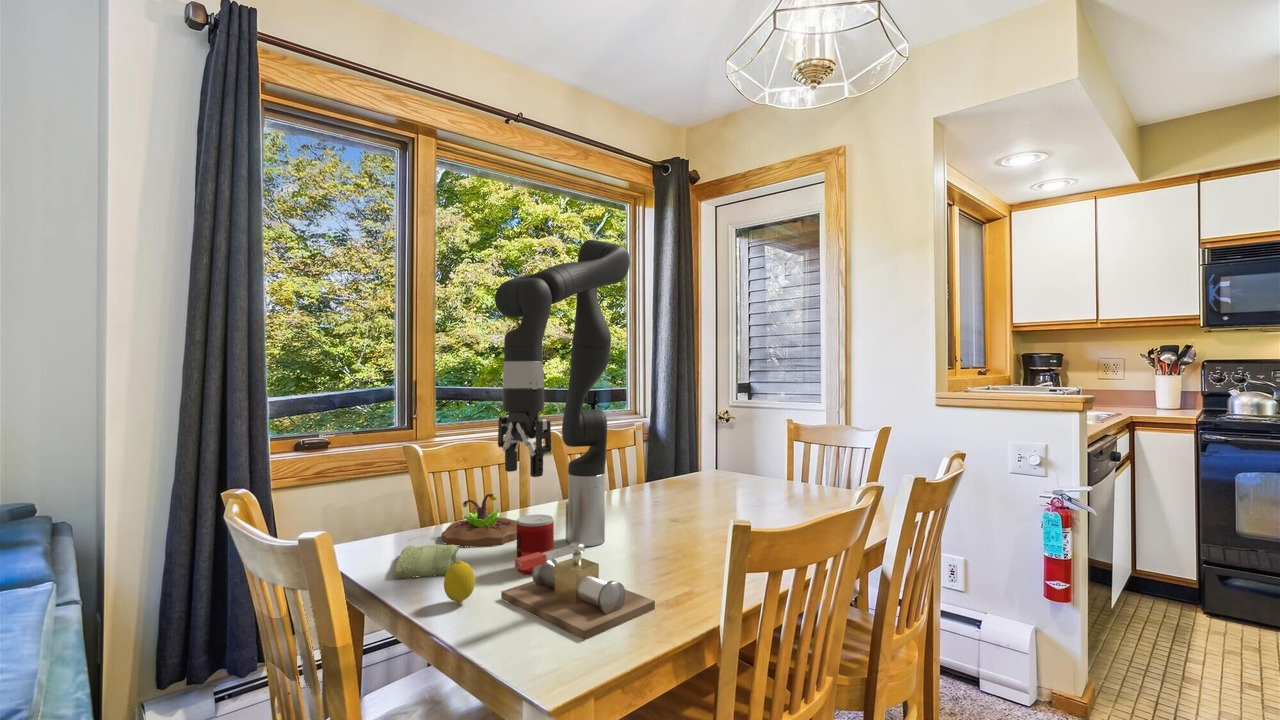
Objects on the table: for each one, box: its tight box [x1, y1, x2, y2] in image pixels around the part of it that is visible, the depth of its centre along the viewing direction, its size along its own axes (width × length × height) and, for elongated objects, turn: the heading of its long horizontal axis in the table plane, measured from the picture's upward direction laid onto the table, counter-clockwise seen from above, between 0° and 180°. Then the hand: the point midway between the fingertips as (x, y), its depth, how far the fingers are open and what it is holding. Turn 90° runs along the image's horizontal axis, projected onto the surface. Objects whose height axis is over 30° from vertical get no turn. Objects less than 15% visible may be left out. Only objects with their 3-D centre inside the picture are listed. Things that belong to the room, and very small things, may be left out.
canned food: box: [516, 514, 555, 575], centre depth 129 cm, size 8×8×11 cm
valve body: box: [531, 553, 626, 614], centre depth 110 cm, size 20×6×9 cm, turn 46°
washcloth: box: [393, 544, 460, 579], centre depth 132 cm, size 13×18×3 cm
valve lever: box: [514, 542, 585, 570], centre depth 106 cm, size 14×3×2 cm, turn 136°
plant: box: [440, 493, 517, 548], centre depth 154 cm, size 20×20×11 cm
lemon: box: [443, 559, 476, 605], centre depth 110 cm, size 6×6×8 cm
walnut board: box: [500, 580, 656, 641], centre depth 110 cm, size 24×17×2 cm
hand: (523, 473), depth 109 cm, fingers open, 8 cm apart
